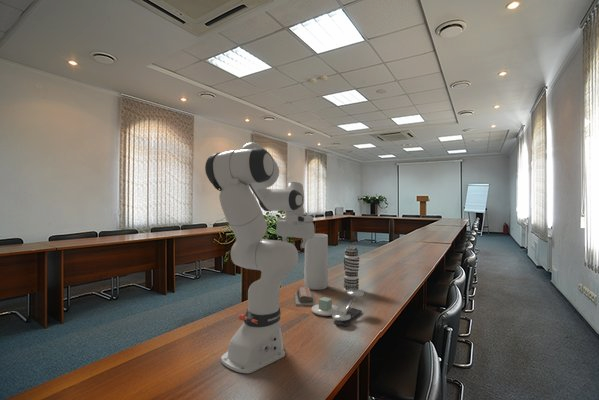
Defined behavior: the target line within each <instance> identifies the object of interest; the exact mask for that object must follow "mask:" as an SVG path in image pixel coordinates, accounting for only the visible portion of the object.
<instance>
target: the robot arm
mask: <svg viewBox="0 0 599 400" xmlns="http://www.w3.org/2000/svg"><path fill="white" fill-rule="evenodd" d="M278 165H279V164H278V163H277V161H276V160H275V159H274V157H273V156H272V155H271V153H270V152H269V151H267V149H266V148H265V147H263V146H262V145H261V144H259V143H258V142H253V141H251V142H248V143H246V144H244V145H242V147H240V149H233V150H228V151H224V152H223V151H222V152H216V153H213V154H211V155H210V156H209V157H208V158H207V159H206V162H205V167H204V170H205V175H206V177H207V178H208V181H209V182H210V183H211V184H212V186H213V188H214V189H216V190H217V191H219V197H218V199H219V202H220V206H221V209H222V212H223V215H224V217H225V218H226V221H227V223H228V225H229V227H230V229H231V230H232V232H233V235H234V237H235V242H234V243H233V245H232V246H231V249H230V259H231V261H232V263H233V264H234V265H235V266H238V267H241V268H243V269H246V270H254V271H260V272H261V273H260V278H259V279H257V280H255V281H254V282H252V283H251V284H250V285H249V287H248V290H247V308H246V312H245V314H243V313H239V315H238V319H239V321H243V323H242V324H241V325H240V327H239V328H238V330H237V331H236V332H235V334H234V335H233V336H232V338H231V339H230V340H229V344H228V350H227V351H226V352H224V354H222V355H221V357H220V361H221V363H222V364H223V365H224V366H225V367H226V368H228V369H229V370H232V371H234V372H238V373H241V374H251V373H254V372H256V371H258V370H260V369H263V368H264V367H266V366H269V365H270V364H272V363H274V362H276V361H279V360H280V359H283V358H284V357H285V356H286V352H285V350H284V348H285V347H284V342H283V334H282V327H281V324H280V320H281V314H282V313H281V308H280V291H281V287H282V284H283V280H284V279H285V278H286V277H287V275H288V274H289V273H290V272H292V271H293V270H294V269H296V267H297V264H298V262H299V252H298V249H297V248H296V246H295V245H294V244H293V243H291V242H289V241H288V240H287V239H288V238H289V237H290V238H297V239H302V243H300V249H305V244H306V242H307V239H311V238H313V237H314V236H315V234H316V233H315V224H314V222H313V221H314V217H313V216H311V215H309V214H307V213H305V209H304V204H305V193H304V192H305V190H304V186H303V184H302V183H301V182H298V181H297V182H296V181H289V182H287V183H286V186H285V188H282V189H279V188H278V189H277V188H273V189H272V188H271V187H272V186H273V185H274V184H275V183H276V182H277V181H278V179H279V176H280V167H279V166H278ZM262 210H263V211H264V212H275V211H276V212H278V211H279V212H285V213H284V216H279V217H278V218H277V220H276V227H275V228H276V229H275V234H276V236H277V237H282V238H281V239H282V240H276V239H265V238H263V237H265V235H266V233H267V230H268V222H267V220H266V218H265V215H264V213H263V211H262Z"/></svg>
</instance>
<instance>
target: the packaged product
mask: <svg viewBox="0 0 599 400" xmlns="http://www.w3.org/2000/svg"><path fill="white" fill-rule="evenodd" d="M293 294H294V303H295V306H297V307H298V306H299V307H300V306H301V307H303V306H304V307H305V306H306V307H307V306H314V305H316V301H315V298H314V295H313V293H312V292H311V289H309V288H308V287H305V286H299V287H297V291H294V293H293Z"/></svg>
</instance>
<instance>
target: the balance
mask: <svg viewBox="0 0 599 400" xmlns="http://www.w3.org/2000/svg"><path fill="white" fill-rule="evenodd" d="M364 294H365V291H364V290H363V289H362V290H361V289H360V288H359V289H349V290H347V292H346V295H348V296H351V297H352V298H351V300H350V301H349V302H348V304H347V305H346V307H345V309H344V311H339V312H334V313H333V314H332V316H331V319H333V324H334V325H337V326H340V327H346V326H348V324H350V323H351V322H352V321H354V320H355V319H356V318H357V317H358V316H360V315H361V314H362V312H363V310H362V309H358V308H355V307H352V305H353V303H354V301H355V300H356V298H357V297H362V296H364Z"/></svg>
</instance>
